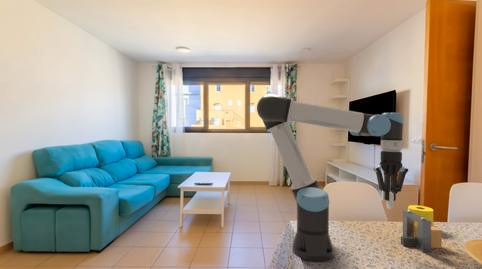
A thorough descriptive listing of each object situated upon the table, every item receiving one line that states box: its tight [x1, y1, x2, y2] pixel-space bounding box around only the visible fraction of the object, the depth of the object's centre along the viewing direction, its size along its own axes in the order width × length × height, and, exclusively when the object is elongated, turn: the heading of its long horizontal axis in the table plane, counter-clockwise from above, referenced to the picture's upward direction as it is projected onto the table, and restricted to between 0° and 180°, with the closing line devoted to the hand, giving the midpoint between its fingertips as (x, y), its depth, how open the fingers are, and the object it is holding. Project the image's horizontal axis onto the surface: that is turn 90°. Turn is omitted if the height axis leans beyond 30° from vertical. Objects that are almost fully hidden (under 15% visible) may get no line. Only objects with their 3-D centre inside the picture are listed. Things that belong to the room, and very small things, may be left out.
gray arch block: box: [402, 209, 432, 254], centre depth 103 cm, size 3×13×12 cm, turn 177°
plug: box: [400, 225, 443, 249], centre depth 103 cm, size 14×4×7 cm, turn 87°
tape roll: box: [407, 204, 434, 226], centre depth 122 cm, size 10×10×9 cm
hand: (389, 208), depth 104 cm, fingers closed
